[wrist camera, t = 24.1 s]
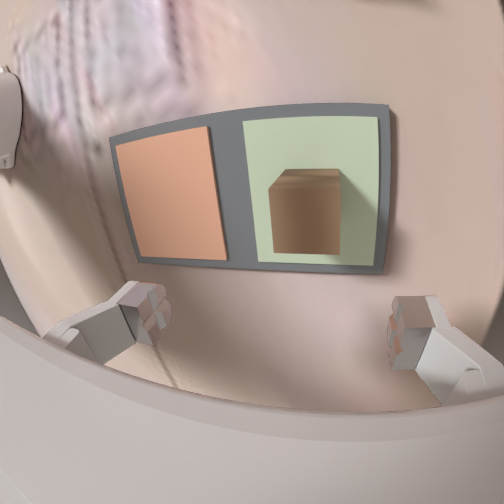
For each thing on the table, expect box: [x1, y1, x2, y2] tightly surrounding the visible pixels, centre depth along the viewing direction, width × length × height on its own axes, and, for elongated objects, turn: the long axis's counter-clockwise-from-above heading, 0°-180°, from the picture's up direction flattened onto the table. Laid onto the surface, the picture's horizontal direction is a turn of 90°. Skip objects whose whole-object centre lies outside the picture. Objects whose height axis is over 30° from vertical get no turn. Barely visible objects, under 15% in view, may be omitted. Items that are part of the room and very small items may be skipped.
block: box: [268, 169, 341, 255], centre depth 18 cm, size 4×4×6 cm
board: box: [109, 103, 391, 274], centre depth 23 cm, size 25×14×1 cm, turn 96°
